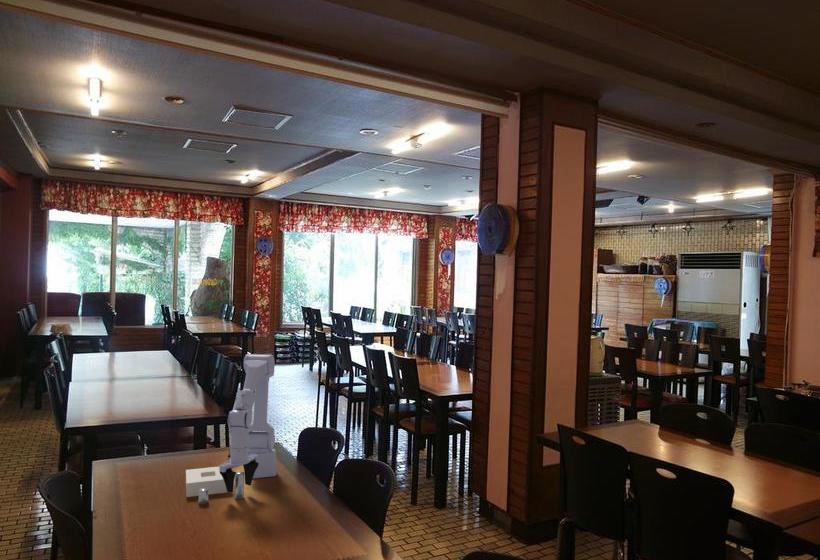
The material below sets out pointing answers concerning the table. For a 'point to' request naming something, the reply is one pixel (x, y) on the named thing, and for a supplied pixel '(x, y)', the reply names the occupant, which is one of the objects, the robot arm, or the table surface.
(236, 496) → the tall steel pin
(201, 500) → the short steel pin
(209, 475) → the hole block
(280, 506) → the table surface
